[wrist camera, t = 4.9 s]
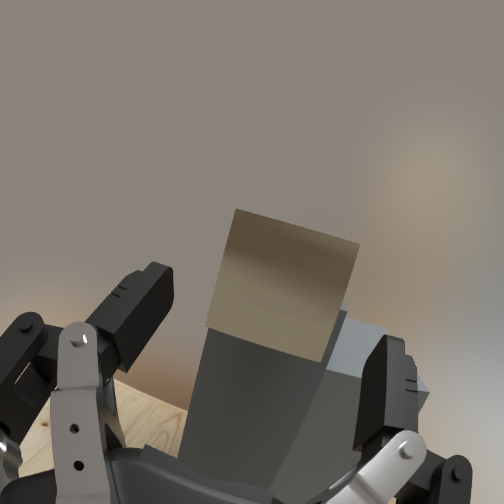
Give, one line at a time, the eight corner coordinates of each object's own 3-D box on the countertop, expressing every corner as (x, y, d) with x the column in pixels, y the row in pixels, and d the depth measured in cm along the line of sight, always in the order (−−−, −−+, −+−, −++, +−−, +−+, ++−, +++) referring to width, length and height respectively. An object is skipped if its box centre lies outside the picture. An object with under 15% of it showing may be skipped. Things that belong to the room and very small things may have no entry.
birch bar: (320, 362, 10) (360, 244, 9) (204, 326, 10) (236, 208, 10) (313, 271, 33) (324, 235, 33) (278, 261, 34) (288, 225, 33)
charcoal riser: (294, 569, 20) (453, 340, 17) (161, 532, 23) (222, 274, 19) (303, 488, 36) (395, 294, 33) (202, 459, 39) (261, 255, 35)
